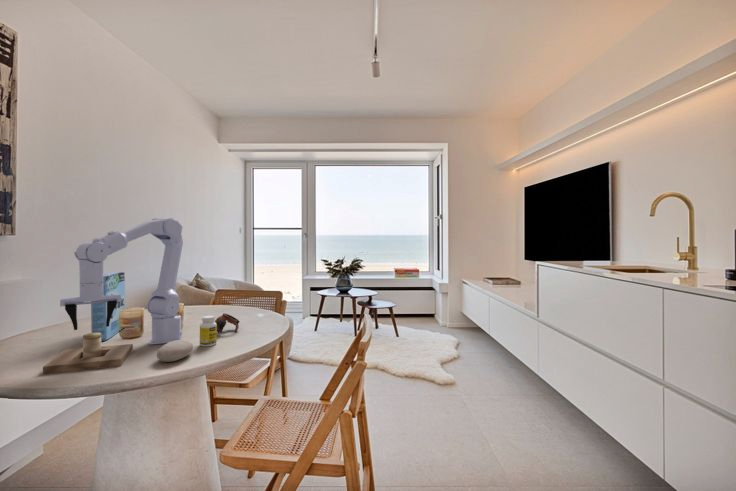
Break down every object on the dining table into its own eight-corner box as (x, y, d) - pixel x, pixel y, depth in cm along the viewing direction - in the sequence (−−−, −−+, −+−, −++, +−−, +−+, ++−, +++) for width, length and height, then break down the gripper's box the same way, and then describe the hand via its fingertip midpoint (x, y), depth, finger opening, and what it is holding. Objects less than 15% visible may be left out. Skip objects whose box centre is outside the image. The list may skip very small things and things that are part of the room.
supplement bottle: (210, 347, 125) (210, 318, 125) (196, 346, 126) (196, 318, 126) (219, 342, 130) (219, 315, 130) (206, 341, 132) (206, 314, 131)
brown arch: (214, 330, 150) (225, 312, 152) (234, 341, 149) (245, 322, 151) (202, 330, 138) (214, 310, 140) (224, 341, 137) (236, 322, 139)
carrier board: (132, 349, 122) (132, 343, 121) (120, 365, 107) (120, 359, 107) (65, 355, 115) (65, 349, 115) (42, 373, 100) (42, 366, 100)
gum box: (106, 341, 131) (106, 277, 131) (89, 342, 130) (89, 277, 129) (126, 327, 150) (125, 271, 149) (111, 328, 149) (111, 272, 148)
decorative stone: (179, 366, 107) (179, 349, 107) (148, 365, 108) (148, 348, 107) (199, 352, 120) (199, 337, 120) (172, 351, 120) (172, 336, 120)
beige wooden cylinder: (101, 357, 114) (101, 331, 114) (101, 361, 110) (101, 335, 110) (83, 360, 111) (83, 333, 111) (82, 364, 108) (82, 337, 107)
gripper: (120, 279, 118) (120, 321, 118) (61, 282, 109) (62, 328, 110) (121, 282, 112) (121, 326, 112) (59, 285, 103) (59, 333, 104)
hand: (92, 327), depth 110 cm, fingers open, 7 cm apart
